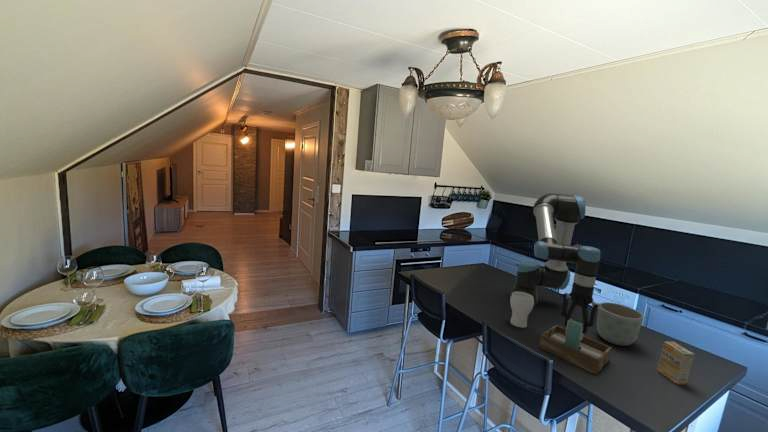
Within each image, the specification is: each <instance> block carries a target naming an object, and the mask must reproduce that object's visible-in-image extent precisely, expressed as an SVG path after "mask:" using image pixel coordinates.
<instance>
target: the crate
mask: <svg viewBox="0 0 768 432" xmlns="http://www.w3.org/2000/svg"><path fill="white" fill-rule="evenodd" d="M565 333H566V328H565V327H563V326H560V325H559V324H556V325H554V326H552V327H551V328H549V329H547V330H546V331H544V332H542V333H541V334H540V339H539V342H538V343H539V344H538V348H540V349H542V350H544V351H545V352H546V353H547V352H548V353H550V354H551V355H554V356H556V357H558V358H560V359H562V360H564V361H566V362H568V363H571V364H573V365H575V366H577V367H579V368H581V369H582V370H586V371H587V372H589V373H592V374H594V375H597V374H598V373H599V372H600V371H601V370H602V369H603V368H604V367H605V366H606V365H605V364H607V363H609V361H610V359H611V355H612V349H613V347H612V346H609V345H607V344H605V343H602V342H599V341H597V340H594V339H592V338H590V337H587V336H586V335H583V339H582V340H581V341H580V347H579V350H576V349H574V348H572V347H570V346H567V345H565V338H566V335H565Z"/></svg>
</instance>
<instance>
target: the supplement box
mask: <svg viewBox="0 0 768 432" xmlns="http://www.w3.org/2000/svg"><path fill="white" fill-rule="evenodd" d="M694 358H695V353H694V352H692V351H690V350H688V349H687V348H685V347H684V346H682V345H680V344H679V343H677V342H675V341H663V345H662V349H661V353H660V357H659V361H658V366H657V369H656V371H657V373H659V372H660V374H661V375H662V374H663V375H662V376H664V377H665V376H666V377H665V378H667V379H668V378H669V380H670V381H671V382H672V381H673V382H672V383H673V384H675V383H676V384H675V385H687V383H688V380H689V377H690V374H691V373H690V372H691V369H692V366H693V362H694V360H695V359H694Z"/></svg>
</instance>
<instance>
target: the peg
mask: <svg viewBox="0 0 768 432" xmlns="http://www.w3.org/2000/svg"><path fill="white" fill-rule="evenodd" d="M582 324H583V322H582V323H581V322H579V321H576V320H573V319H572V321H570V322H569V323H568V328H567V333H566V338H565V345H567V346H570V347H572V348H574V349H576V350H579V347H580V340H578V339H579V334H580V328H581V325H582Z"/></svg>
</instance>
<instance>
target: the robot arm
mask: <svg viewBox="0 0 768 432" xmlns="http://www.w3.org/2000/svg"><path fill="white" fill-rule="evenodd" d="M586 208H587V207H586V201H585V199H584V197H583V196H580V195H574V194H563V193H562V194H561V193H546V194H544V195H542V196H540V197H538V199H537V200H536V201H535V203H534V204H533V207H532V212H533V216H534V217H535V221H536V228H537V237H538V240H537V241H536V242H535V244H534V250H533V251H534V252H533V253H534V254H533V255H534V256H535V258H538V259H543V260H548V261H546V262H545V263H544V265H541V263H540V262H538V261H533V260H523V261H520V262H519V263H518V264H517V265H518V266H517V268H516V275H515V284H514V286H513V289H512V290H511V292H510V295H509V298H510V299H511V296H512V293H513V292H524V293H528V294H530V295H532V296H533V298H534V306H533V307H535V306H537V305H538V303H539V298H538V294H537V293H538V292H537V289H538V287H542V288H549V289H554V290H562V291H563V290H565V289H566V288H567V287H568V286H569V283H570V280H571V271H570V270H569V267H568V266H567V263H570V264H576V265H575V272H574V277H573V283H572V287H571V291H570V293H567V292H565V293H562V299H563V302H562V307H561V312H560V313H561V314H560V316H561V317H563V318H564V325H563V326H564V327H566V333H567V328H568V323H569V322H570V321H572V320H573V319H572V316H573V314H574V311H575V309H576V308H577V306H579V307H581V312H582V325H581V328H580V334H579V339H578V340H580V341H581V340H582V339H583V336H584V335H585V334H586V333H587V332H588V328H591V327H594V325H595V321H596V317H597V316H596V315H597V313H598V308H599V306H600V303H599V302H598V303H597V302H595V301H594V298H593V297H594V296H593V295H594V289H595V287H594V286H595V285H596V279H597V275H598V269H599V265H600V260H601V250H600V249H599V248H596V247H594V246H588V245H581V244H574V245H571V244H572V239H573V234H574V229H575V225H577V224H578V223H580V220H582V219H583V220H584V218H585V217H586ZM553 216H554V217H553ZM554 220H555V222H556V225H555V223H554ZM510 299H509V300H510ZM569 299H571V301H572V302H571V304H570V307H569V309H568V306H569ZM590 304H591V307H592V308H591V312H590V315H589V311H588V309H589V305H590ZM566 333H565V335H566Z"/></svg>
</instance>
